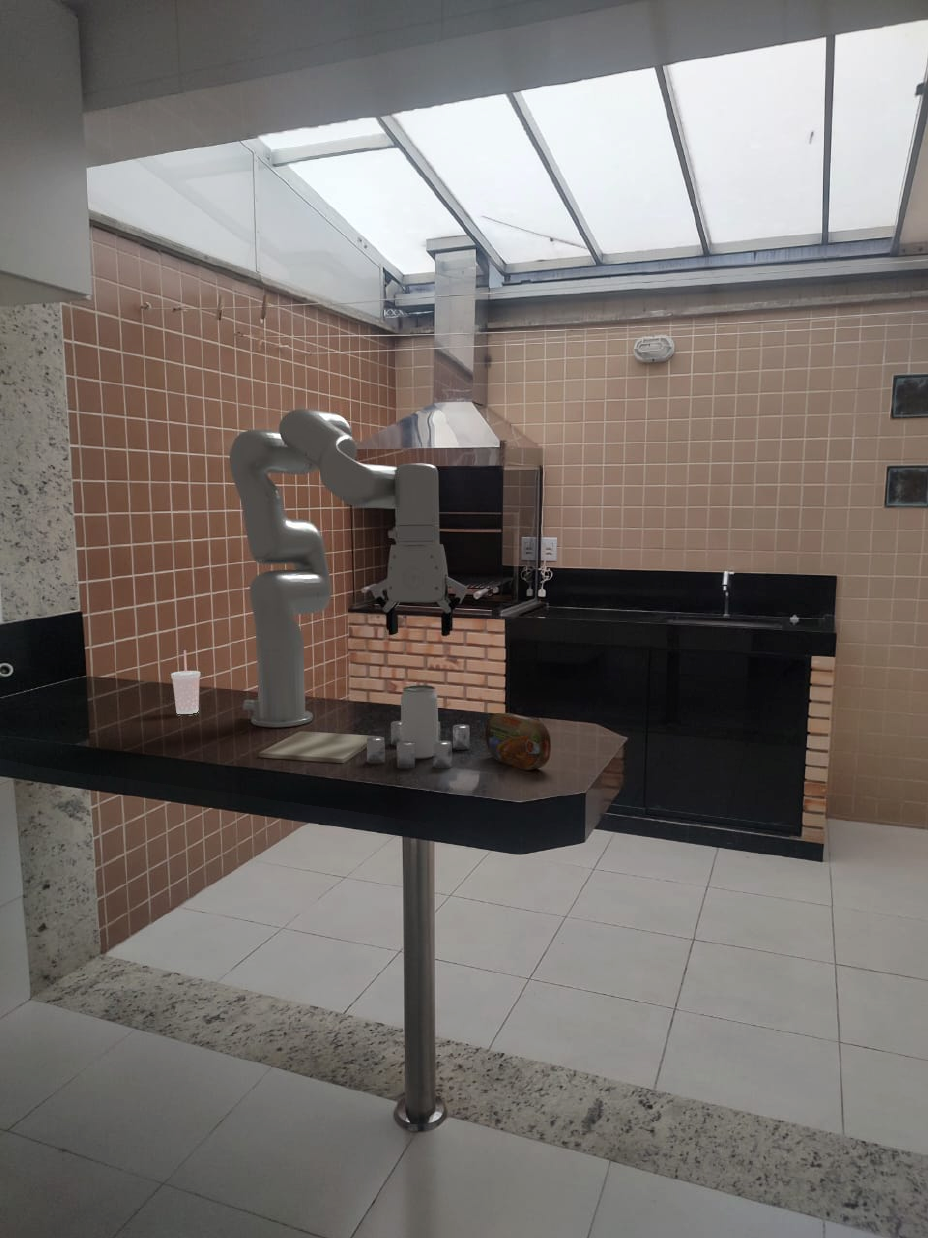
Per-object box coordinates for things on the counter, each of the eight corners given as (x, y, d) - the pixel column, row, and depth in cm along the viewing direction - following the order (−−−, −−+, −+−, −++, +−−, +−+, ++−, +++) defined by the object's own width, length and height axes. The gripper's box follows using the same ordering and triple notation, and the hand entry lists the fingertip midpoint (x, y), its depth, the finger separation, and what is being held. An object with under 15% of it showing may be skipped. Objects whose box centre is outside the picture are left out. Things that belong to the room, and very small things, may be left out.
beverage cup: (177, 710, 181) (175, 648, 180) (205, 710, 182) (203, 648, 180) (169, 716, 175) (166, 652, 174) (197, 716, 176) (194, 652, 174)
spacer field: (361, 765, 138) (360, 742, 137) (397, 739, 155) (396, 718, 154) (446, 771, 134) (446, 748, 133) (473, 744, 151) (473, 723, 151)
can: (403, 749, 148) (402, 684, 146) (439, 749, 147) (438, 684, 146) (399, 759, 141) (398, 691, 140) (436, 759, 141) (436, 691, 140)
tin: (484, 755, 143) (483, 709, 143) (498, 753, 145) (498, 706, 144) (539, 776, 131) (539, 725, 130) (554, 773, 133) (554, 722, 132)
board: (259, 757, 143) (259, 752, 143) (300, 735, 158) (300, 731, 158) (343, 763, 139) (343, 758, 139) (377, 740, 154) (377, 736, 154)
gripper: (362, 537, 139) (365, 636, 141) (460, 535, 134) (461, 638, 136) (378, 537, 146) (380, 631, 148) (471, 535, 142) (472, 633, 143)
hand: (419, 634), depth 142 cm, fingers open, 9 cm apart
